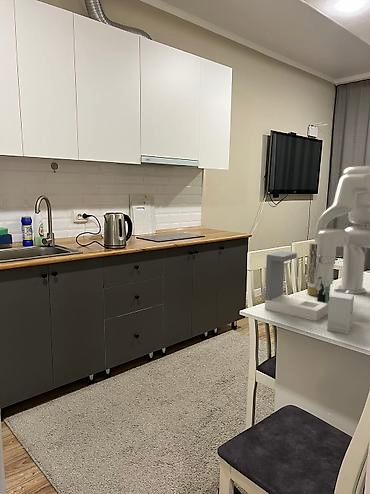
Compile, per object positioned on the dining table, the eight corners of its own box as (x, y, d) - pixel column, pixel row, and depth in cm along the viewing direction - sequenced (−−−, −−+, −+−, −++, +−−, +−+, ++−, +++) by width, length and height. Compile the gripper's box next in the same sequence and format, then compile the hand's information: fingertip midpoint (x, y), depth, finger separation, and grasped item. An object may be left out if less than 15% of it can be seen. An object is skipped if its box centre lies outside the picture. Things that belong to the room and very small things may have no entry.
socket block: (278, 302, 165) (280, 251, 161) (328, 313, 151) (331, 257, 147) (264, 308, 156) (266, 254, 152) (316, 321, 142) (319, 261, 138)
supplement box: (348, 334, 128) (351, 299, 126) (326, 330, 132) (328, 296, 130) (352, 328, 135) (354, 294, 133) (330, 324, 138) (332, 291, 136)
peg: (316, 303, 163) (318, 281, 161) (326, 303, 163) (327, 281, 161) (319, 306, 159) (320, 283, 157) (329, 306, 159) (330, 283, 157)
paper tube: (322, 293, 179) (325, 241, 175) (321, 296, 173) (324, 243, 169) (308, 291, 182) (310, 240, 178) (306, 295, 176) (309, 242, 172)
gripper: (324, 256, 166) (321, 295, 169) (309, 261, 154) (306, 304, 157) (341, 258, 162) (338, 298, 164) (327, 263, 149) (324, 307, 152)
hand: (323, 301), depth 161 cm, fingers closed on peg, 4 cm apart
